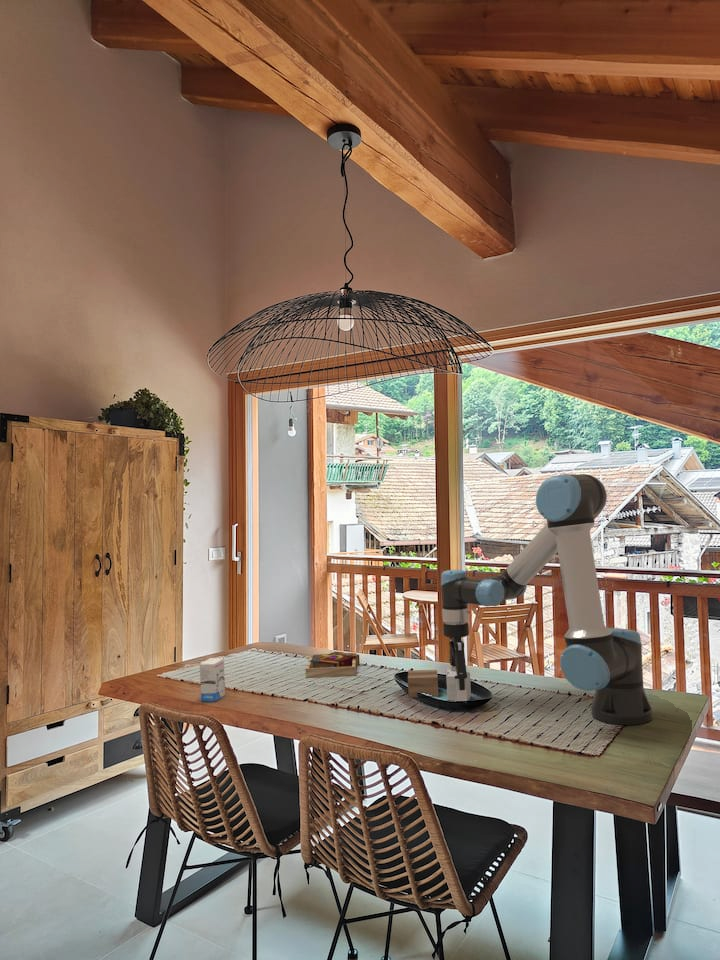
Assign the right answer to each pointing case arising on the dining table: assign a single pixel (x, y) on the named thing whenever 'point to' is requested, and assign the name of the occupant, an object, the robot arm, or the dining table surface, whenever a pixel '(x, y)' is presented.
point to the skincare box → (453, 686)
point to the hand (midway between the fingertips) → (459, 694)
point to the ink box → (212, 679)
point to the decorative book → (335, 660)
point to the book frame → (329, 669)
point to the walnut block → (422, 682)
